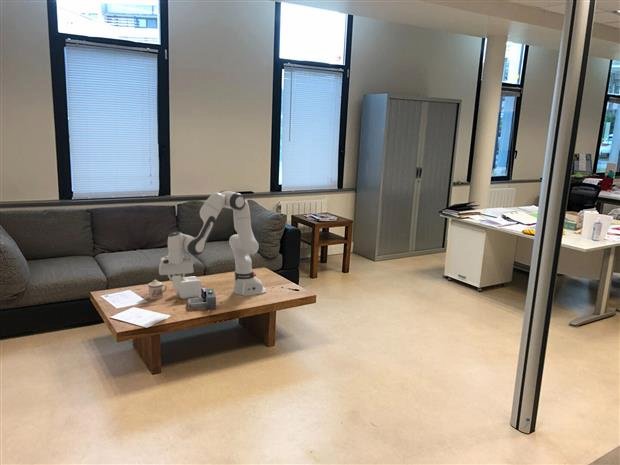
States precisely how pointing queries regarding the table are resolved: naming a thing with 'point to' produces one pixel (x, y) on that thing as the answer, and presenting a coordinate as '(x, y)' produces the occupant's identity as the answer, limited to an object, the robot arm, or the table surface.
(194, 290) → the cable organizer
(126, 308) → the table surface
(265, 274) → the table surface
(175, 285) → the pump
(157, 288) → the teacup with lid
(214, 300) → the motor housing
